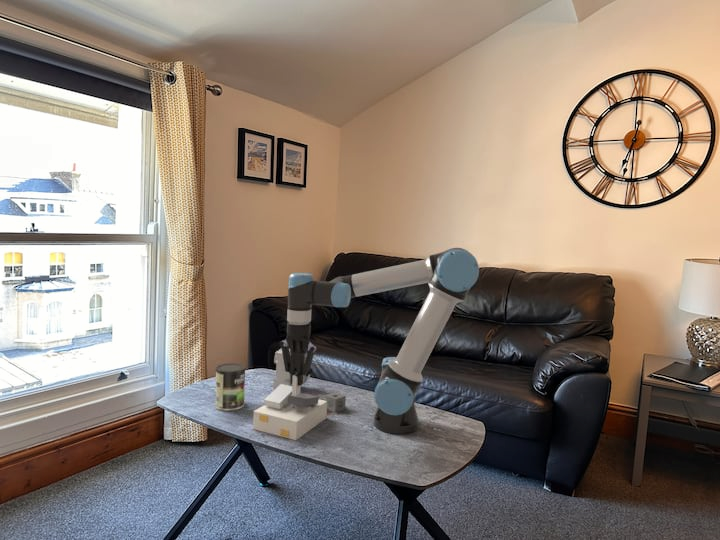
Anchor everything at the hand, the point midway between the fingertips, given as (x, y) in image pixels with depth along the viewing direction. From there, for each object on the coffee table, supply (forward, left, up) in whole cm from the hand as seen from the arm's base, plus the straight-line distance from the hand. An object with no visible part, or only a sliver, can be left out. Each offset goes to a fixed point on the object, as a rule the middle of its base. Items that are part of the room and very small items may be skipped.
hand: (296, 394), depth 158 cm
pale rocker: (+8, -4, -4) cm, 10 cm away
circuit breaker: (+21, -33, -12) cm, 41 cm away
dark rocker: (0, -4, -4) cm, 6 cm away
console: (+4, -4, -12) cm, 13 cm away
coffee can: (+31, -6, -12) cm, 34 cm away
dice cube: (-3, -23, -12) cm, 26 cm away
